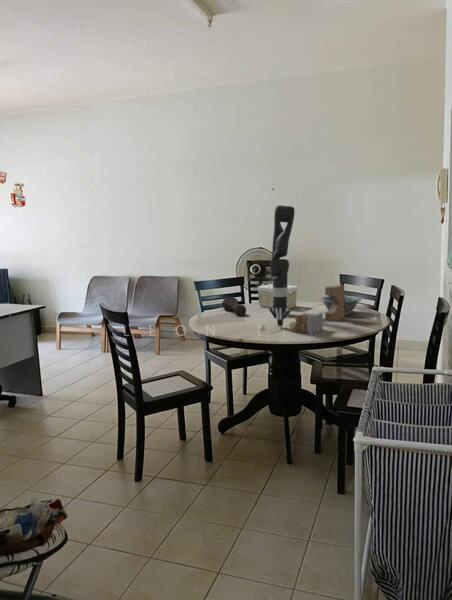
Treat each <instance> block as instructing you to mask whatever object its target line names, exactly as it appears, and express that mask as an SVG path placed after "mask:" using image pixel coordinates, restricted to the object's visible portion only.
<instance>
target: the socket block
mask: <svg viewBox="0 0 452 600" xmlns="http://www.w3.org/2000/svg"><path fill="white" fill-rule="evenodd" d="M314 314H315V313H306V312H305V313H304V312H303V313H301V314H298V315H295V316H294V317H295V318H294V319H295V322H296V331H295V332H300V333H301V332H302V333H307V317H309V316H312V315H314Z"/></svg>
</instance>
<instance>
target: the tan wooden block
mask: <svg viewBox="0 0 452 600" xmlns="http://www.w3.org/2000/svg"><path fill="white" fill-rule="evenodd" d="M289 330H290V331H295V332H297V331H296V321H291V322H289Z"/></svg>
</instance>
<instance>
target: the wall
mask: <svg viewBox="0 0 452 600" xmlns="http://www.w3.org/2000/svg"><path fill="white" fill-rule="evenodd" d="M313 314H314V315H312V316H309V317H307V332H306V334H307V335H313V334H315V333H318V332H320V331H322V330H323V327H324V326H323V325H324V321H323V320H324V319H323V316H324V315H323V312H318V313H317V312H316V313H313Z"/></svg>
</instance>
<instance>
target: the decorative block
mask: <svg viewBox="0 0 452 600" xmlns="http://www.w3.org/2000/svg"><path fill="white" fill-rule="evenodd" d="M324 288H325V289H324V290H325V292H324V295H325V296H330V298H331V299H332V306H331V308H330V309H329V310H327V311H325V318H324V320H325V321H328V322H337V321H341V320H345V315H344V296H345V285H341V284H336V285H335V284H334V285H329V286H325V287H324Z"/></svg>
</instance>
